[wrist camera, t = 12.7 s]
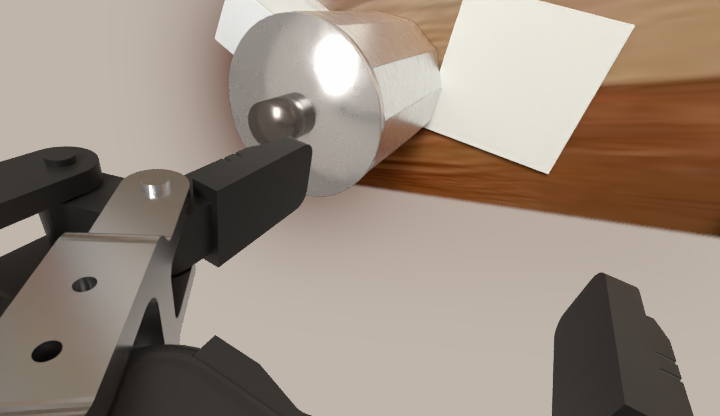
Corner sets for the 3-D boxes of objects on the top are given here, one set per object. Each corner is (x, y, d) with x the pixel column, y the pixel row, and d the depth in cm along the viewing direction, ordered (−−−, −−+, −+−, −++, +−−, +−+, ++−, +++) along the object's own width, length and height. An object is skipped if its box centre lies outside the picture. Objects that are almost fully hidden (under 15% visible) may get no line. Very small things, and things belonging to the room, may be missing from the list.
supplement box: (296, -18, 48) (229, -25, 38) (338, 17, 48) (281, 19, 38) (276, 32, 53) (211, 38, 43) (315, 65, 52) (258, 78, 42)
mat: (634, 25, 36) (635, 25, 35) (548, 172, 45) (548, 174, 45) (469, -18, 40) (468, -18, 40) (422, 125, 49) (421, 126, 49)
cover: (462, 34, 42) (378, 51, 24) (418, 162, 52) (334, 245, 33) (337, -4, 47) (187, -14, 28) (318, 120, 56) (196, 172, 38)
